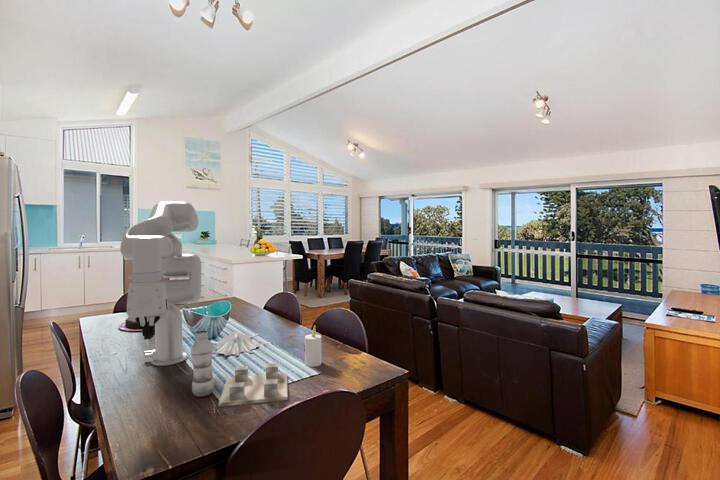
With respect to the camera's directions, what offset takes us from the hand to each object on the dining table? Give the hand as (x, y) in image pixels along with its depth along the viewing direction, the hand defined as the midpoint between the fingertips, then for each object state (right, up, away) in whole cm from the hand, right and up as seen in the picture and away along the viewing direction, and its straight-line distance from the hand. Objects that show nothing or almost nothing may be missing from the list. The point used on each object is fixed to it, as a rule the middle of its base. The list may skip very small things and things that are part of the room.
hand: (148, 337), depth 110 cm
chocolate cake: (-47, -16, +82) cm, 96 cm away
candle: (+46, -18, +30) cm, 58 cm away
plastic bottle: (+14, -19, +5) cm, 25 cm away
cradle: (+30, -19, +8) cm, 36 cm away
